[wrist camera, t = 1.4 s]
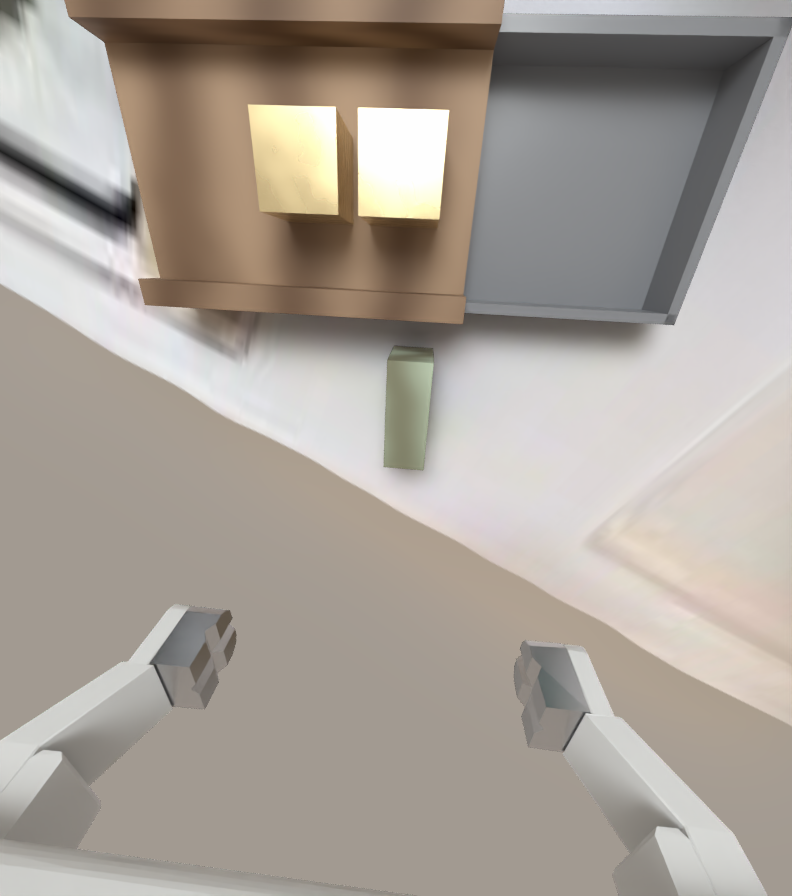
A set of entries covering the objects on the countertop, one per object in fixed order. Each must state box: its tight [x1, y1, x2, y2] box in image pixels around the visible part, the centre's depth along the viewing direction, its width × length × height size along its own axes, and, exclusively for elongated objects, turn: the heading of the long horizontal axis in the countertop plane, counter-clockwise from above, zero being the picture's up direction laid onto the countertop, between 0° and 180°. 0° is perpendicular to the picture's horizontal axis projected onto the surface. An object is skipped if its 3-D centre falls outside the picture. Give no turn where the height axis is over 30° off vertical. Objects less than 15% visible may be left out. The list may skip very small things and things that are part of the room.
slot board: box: [65, 0, 505, 324], centre depth 20 cm, size 20×14×5 cm
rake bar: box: [384, 346, 434, 470], centre depth 26 cm, size 3×8×5 cm, turn 177°
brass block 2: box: [358, 108, 449, 229], centre depth 18 cm, size 4×4×4 cm
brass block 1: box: [248, 104, 354, 225], centre depth 18 cm, size 4×4×4 cm
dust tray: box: [463, 13, 792, 325], centre depth 20 cm, size 13×13×4 cm
